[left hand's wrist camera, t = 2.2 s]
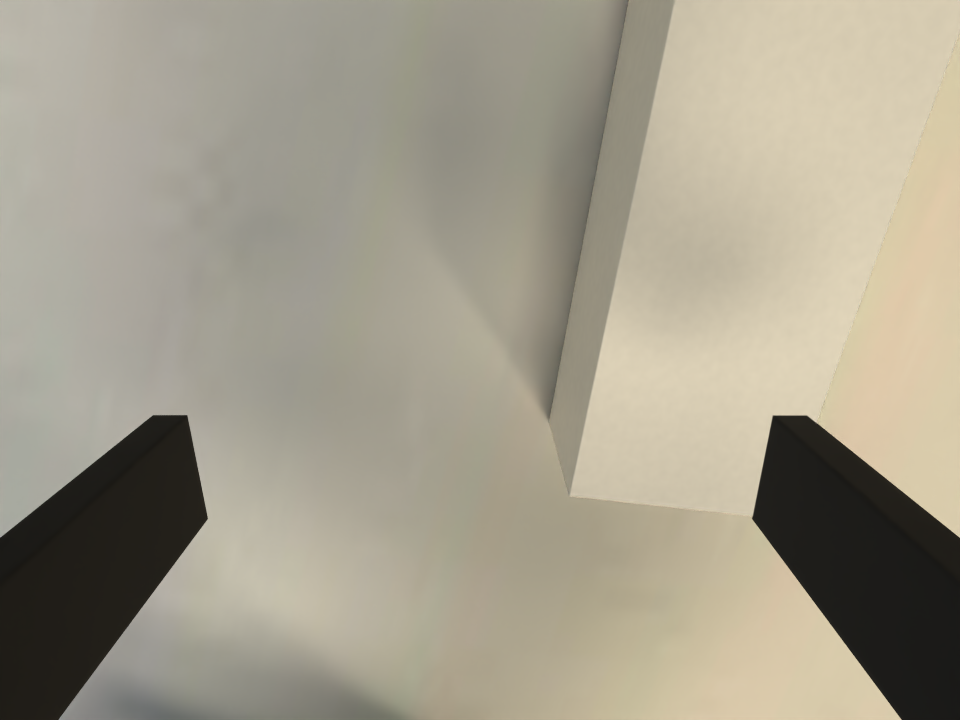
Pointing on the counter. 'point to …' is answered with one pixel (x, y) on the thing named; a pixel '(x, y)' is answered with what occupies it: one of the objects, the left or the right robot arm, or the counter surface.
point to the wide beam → (734, 232)
